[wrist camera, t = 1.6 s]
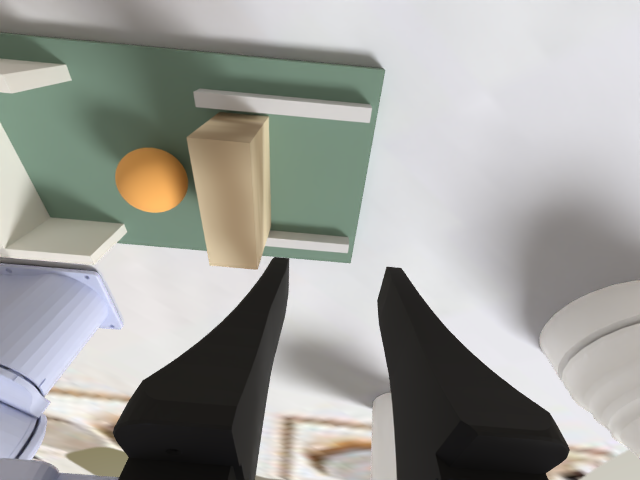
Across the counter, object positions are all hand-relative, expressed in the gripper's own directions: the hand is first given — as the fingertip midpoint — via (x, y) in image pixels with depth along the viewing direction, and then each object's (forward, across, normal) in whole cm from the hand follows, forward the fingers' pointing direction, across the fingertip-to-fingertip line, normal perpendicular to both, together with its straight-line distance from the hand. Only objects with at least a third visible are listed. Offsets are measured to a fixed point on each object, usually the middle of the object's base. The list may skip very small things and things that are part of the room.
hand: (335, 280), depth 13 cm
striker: (+10, +6, 0) cm, 11 cm away
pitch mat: (+10, +10, 0) cm, 15 cm away
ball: (+8, +12, 0) cm, 14 cm away
